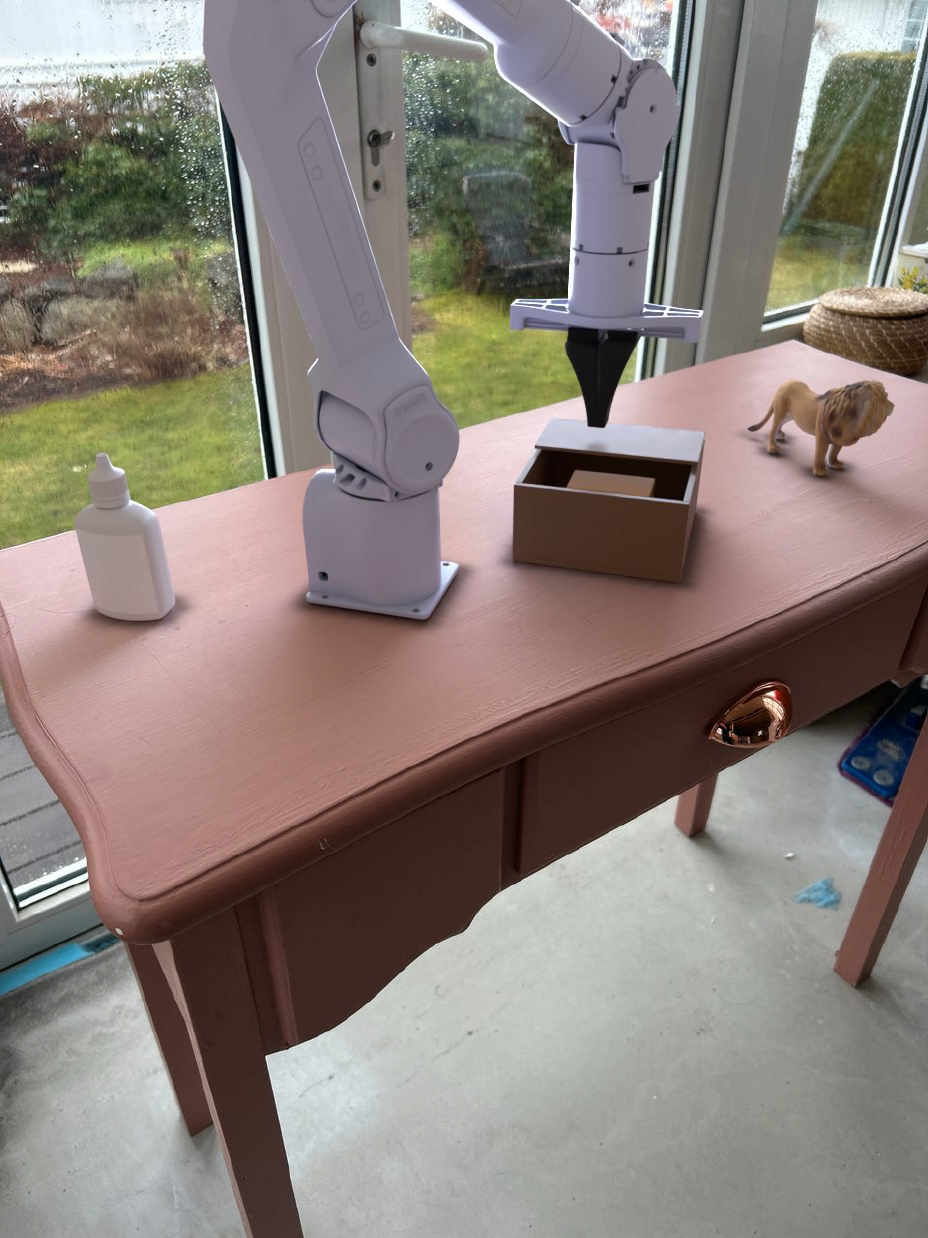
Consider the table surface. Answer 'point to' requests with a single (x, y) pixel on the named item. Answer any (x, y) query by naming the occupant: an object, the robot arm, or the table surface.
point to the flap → (623, 441)
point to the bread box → (604, 516)
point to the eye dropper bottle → (122, 550)
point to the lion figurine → (828, 416)
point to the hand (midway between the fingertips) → (598, 423)
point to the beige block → (612, 483)
